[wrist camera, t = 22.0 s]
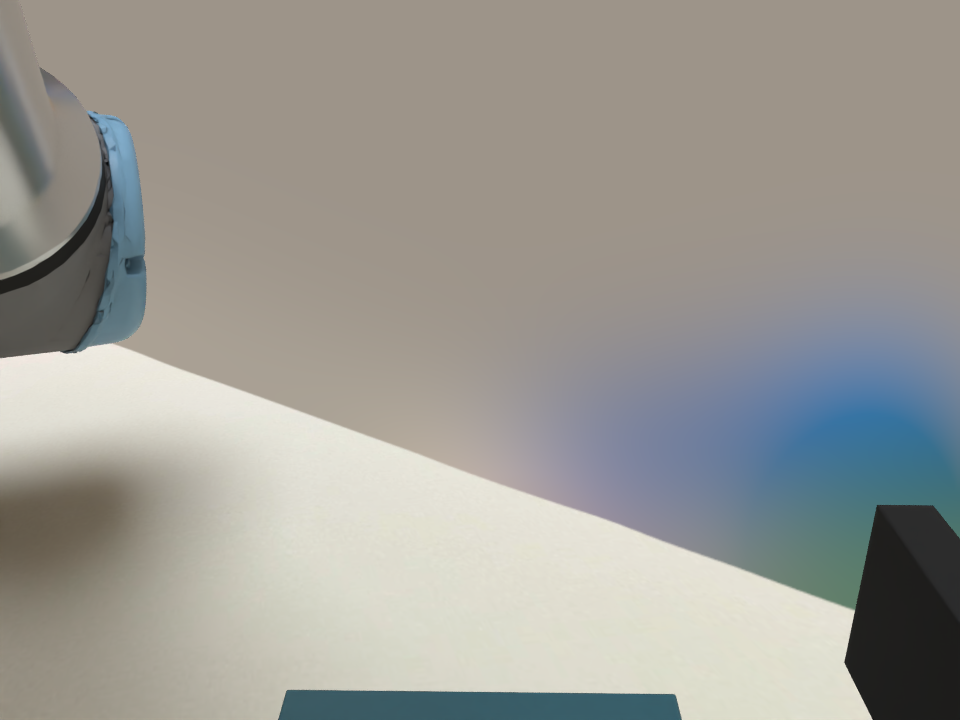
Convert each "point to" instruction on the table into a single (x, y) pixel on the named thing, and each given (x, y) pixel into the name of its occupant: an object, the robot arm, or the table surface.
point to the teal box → (475, 706)
